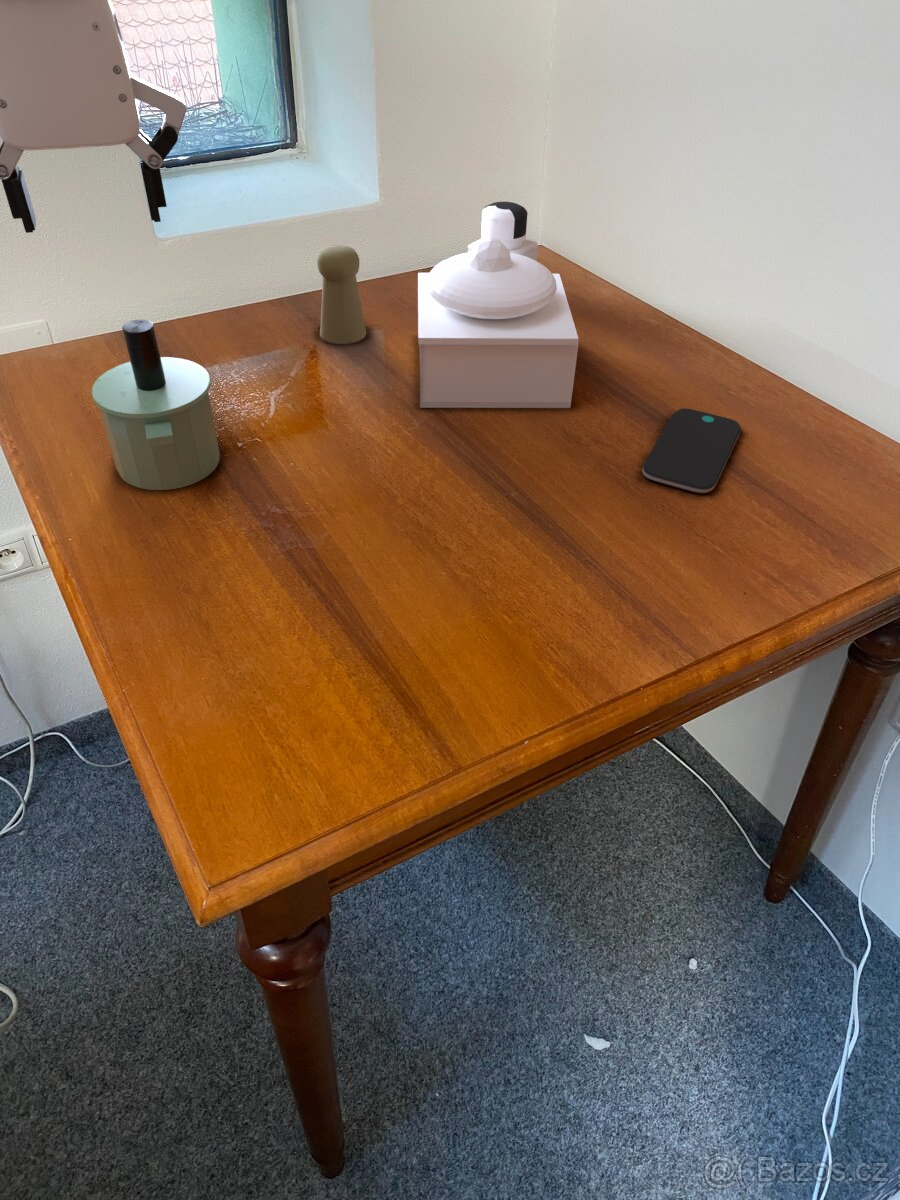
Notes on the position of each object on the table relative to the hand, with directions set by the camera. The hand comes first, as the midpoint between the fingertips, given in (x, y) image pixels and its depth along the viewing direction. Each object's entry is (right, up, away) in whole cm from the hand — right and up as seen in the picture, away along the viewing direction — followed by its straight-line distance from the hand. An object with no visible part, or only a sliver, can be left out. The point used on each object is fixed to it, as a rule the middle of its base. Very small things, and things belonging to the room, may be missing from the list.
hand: (94, 221), depth 71 cm
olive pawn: (+15, +4, +43) cm, 46 cm away
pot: (0, -16, +21) cm, 26 cm away
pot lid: (0, -10, +15) cm, 18 cm away
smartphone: (+55, -15, +24) cm, 62 cm away
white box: (+34, -3, +36) cm, 50 cm away
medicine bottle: (+36, +12, +53) cm, 65 cm away
